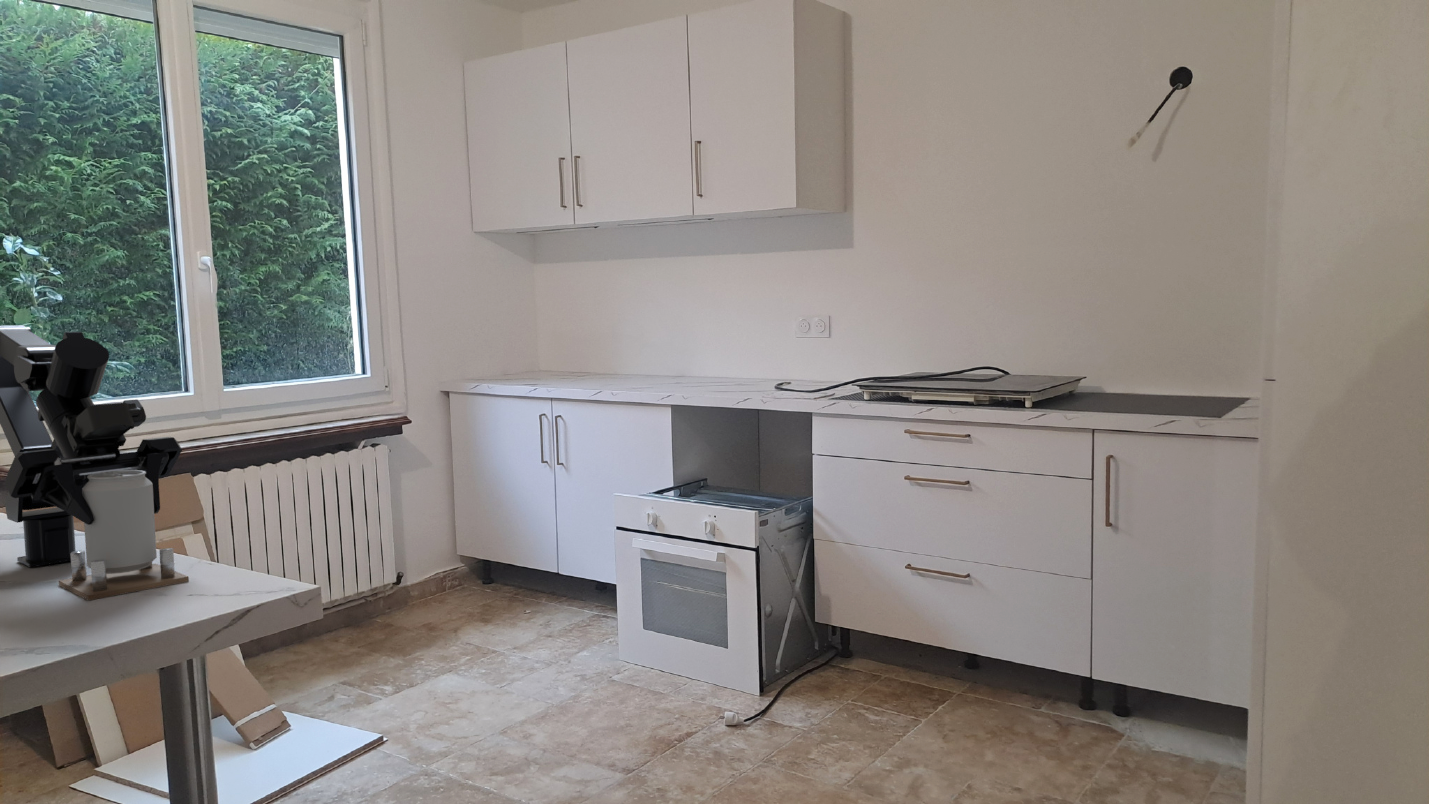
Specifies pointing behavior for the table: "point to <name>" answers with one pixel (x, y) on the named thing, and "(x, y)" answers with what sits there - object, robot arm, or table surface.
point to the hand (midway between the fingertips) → (125, 516)
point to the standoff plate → (119, 577)
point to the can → (120, 520)
